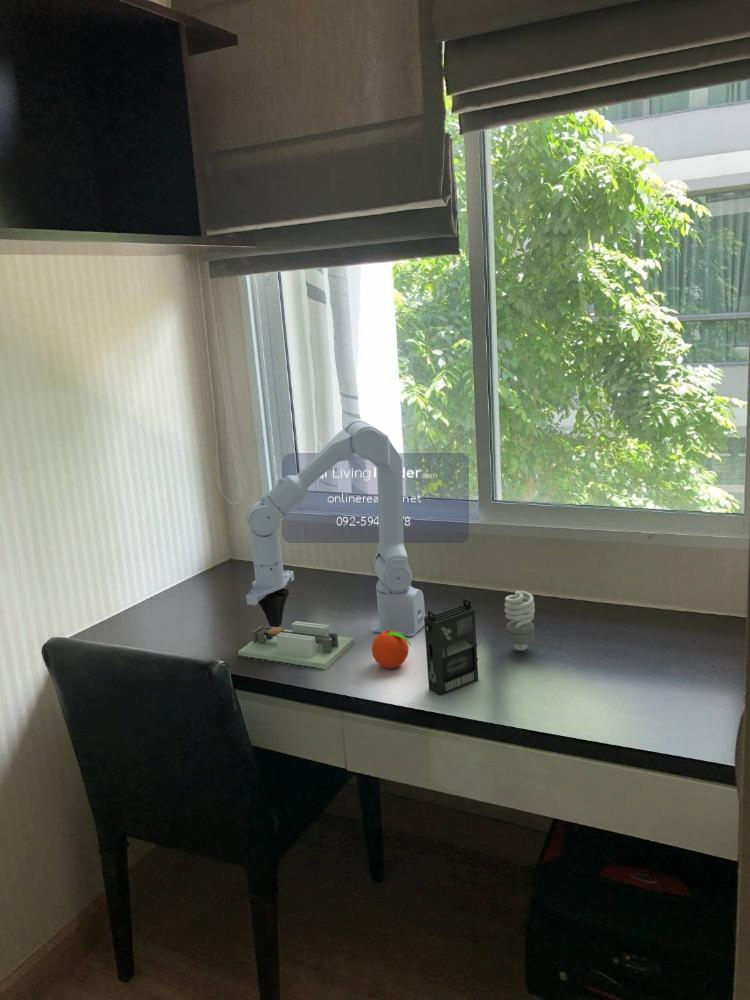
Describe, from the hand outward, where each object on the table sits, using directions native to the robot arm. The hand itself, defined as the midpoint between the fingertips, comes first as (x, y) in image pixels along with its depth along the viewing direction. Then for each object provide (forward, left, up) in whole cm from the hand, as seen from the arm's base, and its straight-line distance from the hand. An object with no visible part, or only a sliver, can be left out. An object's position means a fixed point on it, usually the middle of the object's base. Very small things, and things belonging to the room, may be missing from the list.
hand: (275, 625), depth 163 cm
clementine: (-26, +1, -5) cm, 27 cm away
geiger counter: (-39, +4, -5) cm, 40 cm away
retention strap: (-5, 0, -2) cm, 5 cm away
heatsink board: (-4, 0, -5) cm, 7 cm away
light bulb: (-47, -12, -5) cm, 49 cm away
